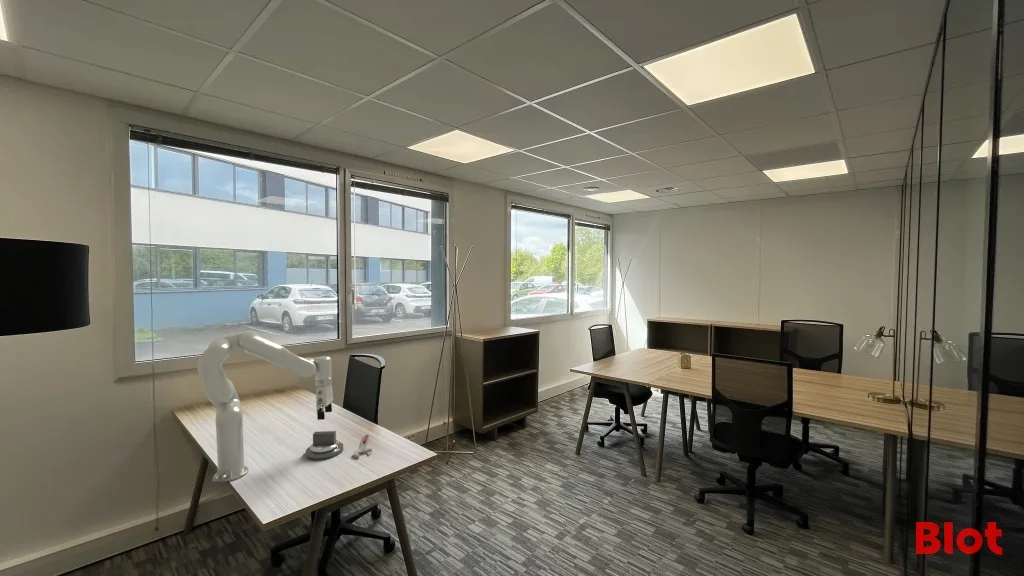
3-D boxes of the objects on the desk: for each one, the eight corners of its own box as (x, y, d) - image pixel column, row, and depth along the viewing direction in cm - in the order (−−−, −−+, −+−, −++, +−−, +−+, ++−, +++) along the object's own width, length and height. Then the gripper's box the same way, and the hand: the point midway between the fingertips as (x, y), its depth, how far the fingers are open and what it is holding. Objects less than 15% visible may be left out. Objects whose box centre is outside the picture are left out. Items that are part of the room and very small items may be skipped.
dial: (305, 453, 190) (305, 438, 190) (316, 442, 203) (316, 427, 203) (336, 452, 192) (336, 437, 191) (345, 441, 204) (345, 426, 204)
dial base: (336, 459, 190) (336, 454, 190) (299, 461, 188) (299, 456, 188) (347, 443, 207) (347, 439, 207) (314, 445, 205) (313, 440, 205)
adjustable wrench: (379, 436, 217) (379, 432, 217) (369, 458, 191) (369, 454, 191) (364, 437, 216) (364, 434, 216) (351, 460, 190) (351, 455, 190)
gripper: (324, 386, 188) (326, 422, 188) (337, 376, 205) (338, 409, 206) (308, 387, 187) (309, 422, 188) (322, 377, 204) (323, 409, 205)
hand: (324, 415), depth 197 cm, fingers open, 9 cm apart
